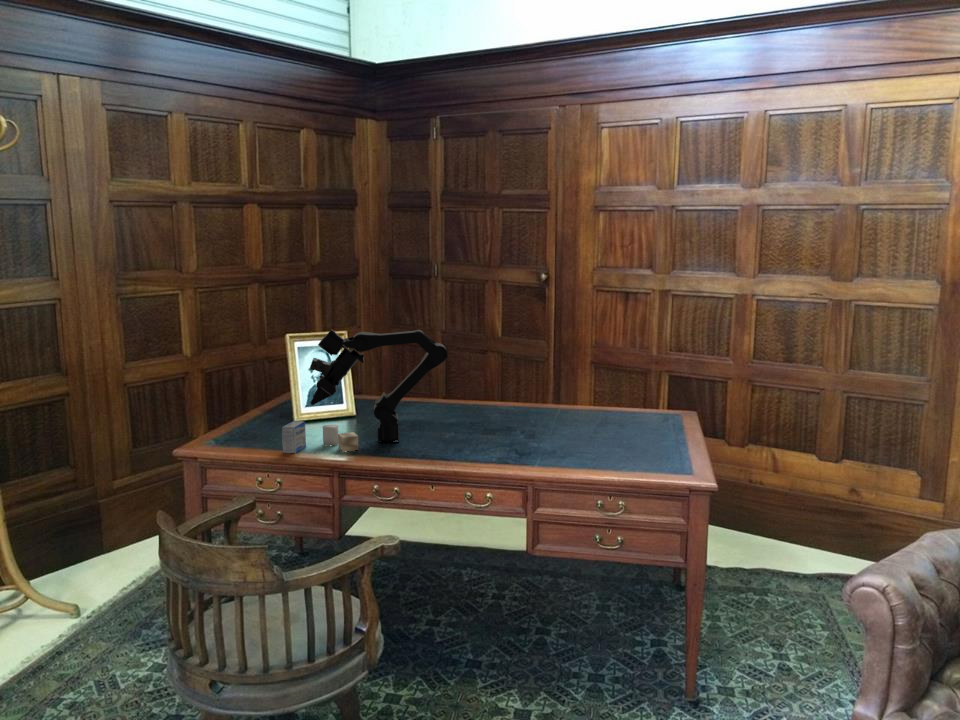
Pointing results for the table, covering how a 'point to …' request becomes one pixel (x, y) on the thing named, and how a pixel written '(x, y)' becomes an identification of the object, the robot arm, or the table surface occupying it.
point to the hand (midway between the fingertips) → (312, 401)
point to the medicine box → (294, 437)
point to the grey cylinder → (330, 434)
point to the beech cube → (348, 441)
